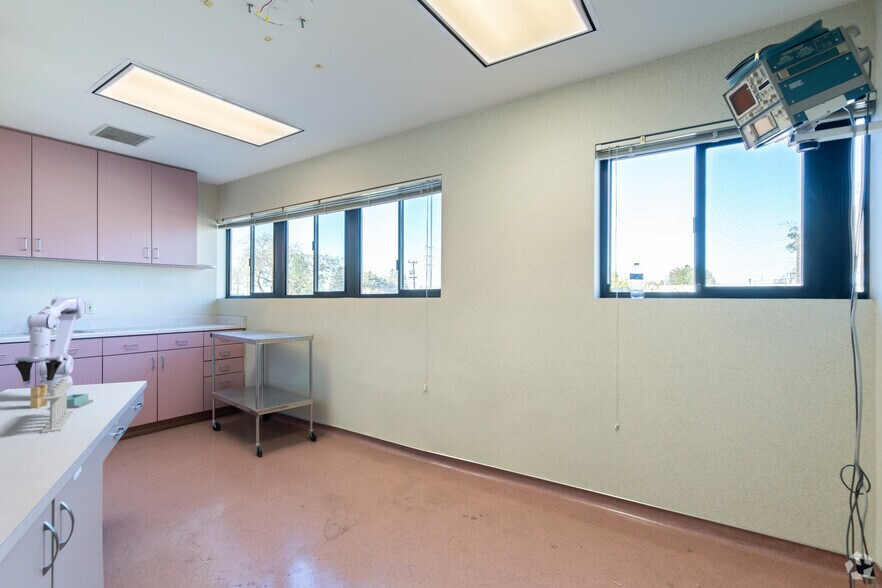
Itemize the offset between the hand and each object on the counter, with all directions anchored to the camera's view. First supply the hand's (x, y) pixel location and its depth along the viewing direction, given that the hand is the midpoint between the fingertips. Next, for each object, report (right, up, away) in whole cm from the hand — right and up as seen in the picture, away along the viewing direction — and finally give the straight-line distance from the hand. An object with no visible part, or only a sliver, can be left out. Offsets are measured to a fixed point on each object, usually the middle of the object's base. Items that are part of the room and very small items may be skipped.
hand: (38, 380), depth 155 cm
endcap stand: (+11, -10, +3) cm, 15 cm away
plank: (0, -10, 0) cm, 10 cm away
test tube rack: (+24, -11, -18) cm, 32 cm away
